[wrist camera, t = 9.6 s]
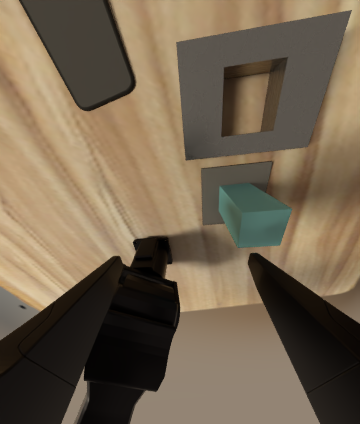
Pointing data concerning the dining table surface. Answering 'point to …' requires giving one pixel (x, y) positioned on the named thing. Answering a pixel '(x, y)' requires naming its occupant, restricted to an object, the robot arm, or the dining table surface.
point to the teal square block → (252, 215)
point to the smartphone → (83, 48)
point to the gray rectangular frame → (277, 86)
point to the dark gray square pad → (229, 176)
